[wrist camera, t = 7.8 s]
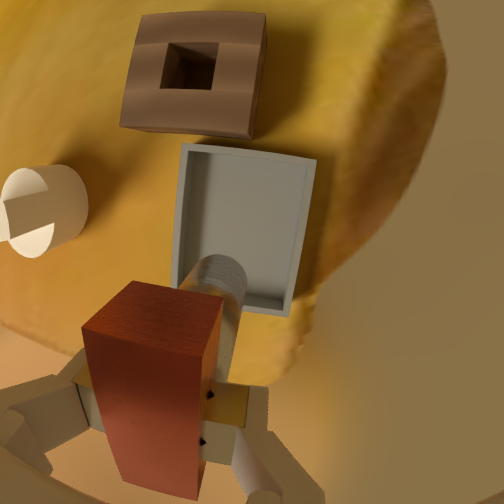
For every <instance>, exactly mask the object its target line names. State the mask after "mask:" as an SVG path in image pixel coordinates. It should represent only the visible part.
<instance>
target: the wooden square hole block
mask: <svg viewBox="0 0 504 504" xmlns="http://www.w3.org/2000/svg"><path fill="white" fill-rule="evenodd" d="M266 45H267V31H266V14H264V13H252V12H234V11H188V12H170V13H158V14H149V15H142V17H141V21H140V25H139V28H138V32H137V36H136V40H135V44H134V48H133V52H132V57H131V61H130V66H129V71H128V76H127V81H126V86H125V92H124V98H123V104H122V110H121V117H120V124H119V126H120V127H125V128H130V129H135V130H140V131H145V132H159V133H179V134H194V135H207V136H218V137H228V138H238V139H246V140H253V134H254V127H255V120H256V113H257V106H258V99H259V92H260V85H261V78H262V71H263V65H264V58H265V52H266ZM189 64H195V65H215V71H214V77H213V83H212V89H211V90H198V89H184V87H185V81H186V76H187V70H188V65H189Z"/></svg>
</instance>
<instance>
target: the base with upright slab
mask: <svg viewBox="0 0 504 504" xmlns="http://www.w3.org/2000/svg"><path fill="white" fill-rule="evenodd" d="M88 209H89V206H88V195H87V191H86V187H85V185H84V183H83V181H82V179H81V177H80V176H79V175H78V174H77V172H76V171H75V170H73V169H72V168H70V167H69V166H66V165H62V164H58V165H47V166H37V167H29V168H22V169H18V170H16V171H15V172H13V173H12V174H11V175H10V176H9V178H8V179H7V180H6V182H5V185H4V187H3V189H2V193H1V198H0V242H2V241H6V240H8V241H9V243H10V244H11V246H12V247H13V248H14V249H15V250H16V251H17V252H18V253H19V254H21V255H23V256H25V257H29V258H35V257H38V256H40V255H42V254H44V253H46V252H48V251H50V250H53V249H55V248H57V247H59V246H61V245H63V244H65V243H67V242H69V241H71V240H73V239H75V238H76V237H77V236H78V235H79V234H80V233H81V231H82V230H83V228H84V226H85V223H86V220H87V216H88Z"/></svg>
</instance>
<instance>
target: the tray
mask: <svg viewBox="0 0 504 504" xmlns="http://www.w3.org/2000/svg"><path fill="white" fill-rule="evenodd" d="M316 163H317V160H314V159H309V158H303V157H297V156H291V155H284V154H278V153H271V152H264V151H257V150H249V149H241V148H232V147H223V146H213V145H202V144H189V143H182V149H181V157H180V166H179V175H178V185H177V196H176V207H175V219H174V234H173V250H172V270H171V288H175V289H178V288H179V286H180V285H181V284H182V282H183V281H184V280H185V278H186V277H187V276H188V274H189V273H190V272H191V270H192V269H193V268H194V266H195V265H196V264H197V263H198V262H199V261H200V260H201V259H203V258H204V257H206V256H209V255H213V254H222V255H226V256H229V257H231V258H233V259H235V260H236V261H237V262H238V263H239V264H240V265H241V266H242V267H243V269H244V271H245V273H246V275H247V282H248V283H247V290H246V295H245V299H244V304H243V309H242V311H246V312H253V313H260V314H267V315H274V316H282V317H289V312H290V307H291V302H292V298H293V293H294V288H295V283H296V278H297V273H298V268H299V263H300V257H301V252H302V247H303V241H304V236H305V230H306V225H307V219H308V213H309V207H310V201H311V195H312V189H313V183H314V176H315V170H316Z"/></svg>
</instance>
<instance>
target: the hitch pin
mask: <svg viewBox="0 0 504 504" xmlns="http://www.w3.org/2000/svg"><path fill="white" fill-rule="evenodd" d="M247 283H248V282H247V275H246V273H245V271H244V269H243V267H242V266H241V265H240V264H239V263H238V262H237V261H236V260H235V259H233V258H231V257H229V256H226V255H222V254H213V255H209V256H206V257H204V258H203V259H201V260H200V261H199V262H198V263H197V264H196V265H195V266H194V268H193V269H192V270H191V272H190V273H189V274H188V276H187V277H186V278H185V280H184V281H183V282H182V284H181V285H180V286H179V288H178V289H175V288H170V287H164V286H159V285H154V284H148V283H143V282H138V281H131V282H130V283H129V284H128V285H127V286H126V287H125V288H124V289H122V290H121V291H120V292H119V293H118V294H117V295H116V296H115V297H113V298H112V299H111V300H110V301H109V302H108V303H107V304H106V305H105V306H104V307H102V308H101V309H100V310H99V311H98V312H97V313H96V314H95V315H94V316H93V317H92V318H91V319H89V320H88V321H87V322H86V323H85V324H84V325H83V326H82V327H81V329H82V335H83V341H84V347H85V352H86V358H87V363H88V367H89V372H90V377H91V381H92V385H93V389H94V393H95V397H96V401H97V405H98V409H99V412H100V416H101V419H102V423H103V426H104V429H105V432H106V435H107V438H108V442H109V444H110V447H111V450H112V453H113V456H114V459H115V461H116V464H117V466H118V469H119V472H120V474H121V477H122V479H123V481H125V482H128V483H131V484H134V485H137V486H140V487H144V488H147V489H150V490H154V491H157V492H161V493H165V494H169V495H173V496H177V497H181V498H186V499H190V500H195V501H197V500H198V496H199V492H200V488H201V483H202V479H203V474H204V470H205V465H206V461H204V460H200V455H201V444H202V440H203V438H202V437H201V429H202V418H203V414H204V411H205V407H206V403H207V400H209V399H210V389H211V385H212V382H213V380H218V381H224V382H227V379H228V374H229V370H230V365H231V360H232V356H233V351H234V346H235V342H236V337H237V332H238V328H239V323H240V318H241V313H242V309H243V304H244V299H245V295H246V290H247Z"/></svg>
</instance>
